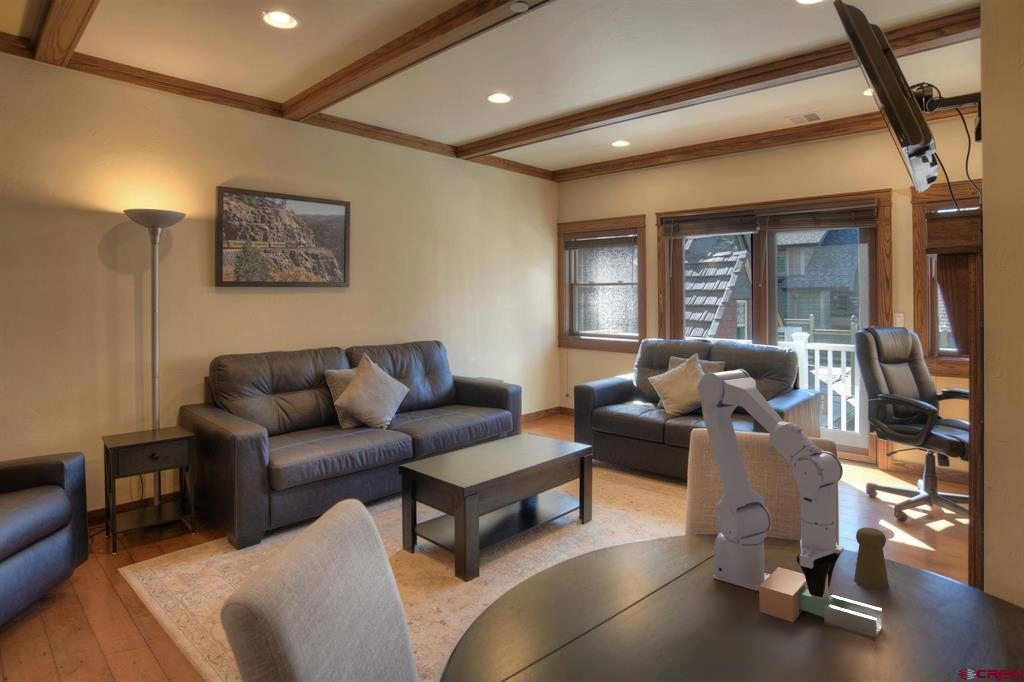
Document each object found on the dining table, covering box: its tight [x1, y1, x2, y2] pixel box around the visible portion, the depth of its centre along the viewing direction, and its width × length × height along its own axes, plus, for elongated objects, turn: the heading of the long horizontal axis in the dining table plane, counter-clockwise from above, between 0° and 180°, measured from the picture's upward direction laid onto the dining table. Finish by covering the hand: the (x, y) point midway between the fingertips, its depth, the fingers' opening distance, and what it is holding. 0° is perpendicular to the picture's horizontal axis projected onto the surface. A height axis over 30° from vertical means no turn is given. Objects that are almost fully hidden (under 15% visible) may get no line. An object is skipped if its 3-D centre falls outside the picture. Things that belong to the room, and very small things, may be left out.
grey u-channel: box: [823, 594, 883, 641], centre depth 105 cm, size 8×5×4 cm, turn 46°
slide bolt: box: [799, 574, 834, 617], centre depth 110 cm, size 8×3×8 cm, turn 46°
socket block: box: [758, 566, 808, 623], centre depth 113 cm, size 6×10×5 cm, turn 136°
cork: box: [853, 526, 889, 590], centre depth 120 cm, size 6×6×11 cm
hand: (819, 591), depth 109 cm, fingers closed on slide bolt, 3 cm apart
